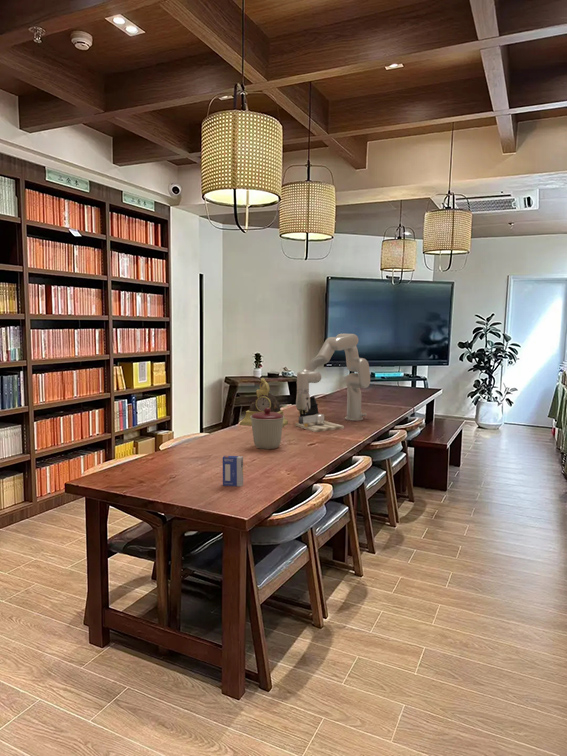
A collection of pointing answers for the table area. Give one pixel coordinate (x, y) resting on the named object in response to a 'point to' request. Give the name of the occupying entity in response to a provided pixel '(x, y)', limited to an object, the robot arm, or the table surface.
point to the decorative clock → (263, 404)
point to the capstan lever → (312, 419)
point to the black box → (312, 407)
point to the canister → (267, 429)
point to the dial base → (319, 426)
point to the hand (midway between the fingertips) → (302, 420)
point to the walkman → (233, 471)
